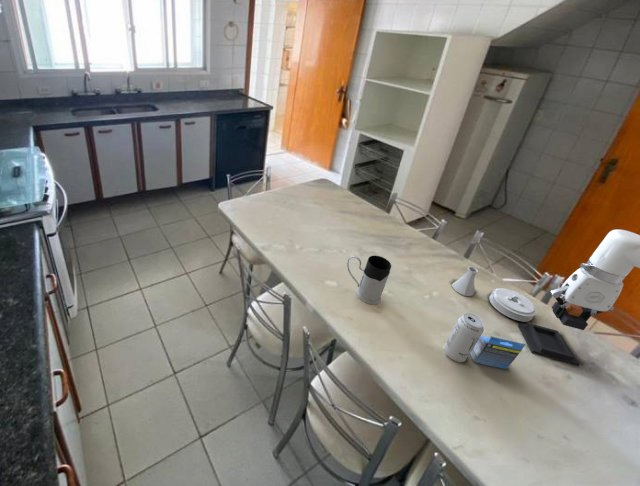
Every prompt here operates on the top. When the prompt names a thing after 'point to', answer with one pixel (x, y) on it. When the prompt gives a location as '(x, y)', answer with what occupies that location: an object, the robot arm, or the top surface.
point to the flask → (466, 282)
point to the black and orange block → (573, 317)
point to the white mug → (372, 279)
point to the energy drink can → (464, 337)
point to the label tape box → (496, 351)
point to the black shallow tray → (547, 343)
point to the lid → (512, 304)
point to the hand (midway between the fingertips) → (567, 317)
